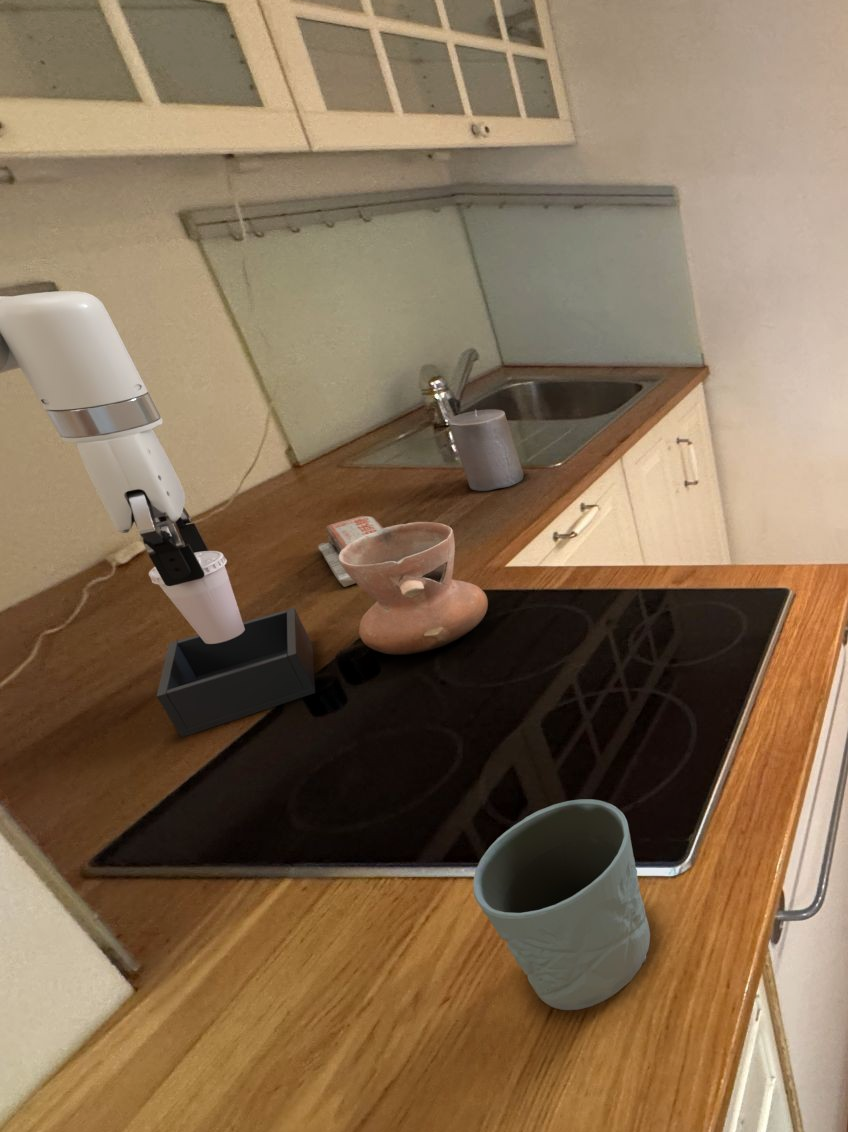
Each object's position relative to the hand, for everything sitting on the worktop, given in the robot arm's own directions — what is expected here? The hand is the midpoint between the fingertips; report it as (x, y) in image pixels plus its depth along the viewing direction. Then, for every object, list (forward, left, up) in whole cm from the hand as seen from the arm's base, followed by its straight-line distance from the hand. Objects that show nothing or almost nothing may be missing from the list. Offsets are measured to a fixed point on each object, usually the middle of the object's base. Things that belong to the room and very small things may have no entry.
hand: (188, 568), depth 87 cm
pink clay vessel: (+19, -1, -17) cm, 25 cm away
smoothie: (0, 0, -9) cm, 9 cm away
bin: (0, 0, -17) cm, 17 cm away
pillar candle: (+37, +55, -17) cm, 68 cm away
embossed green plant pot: (+22, -65, -17) cm, 71 cm away
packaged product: (+14, +32, -17) cm, 39 cm away
